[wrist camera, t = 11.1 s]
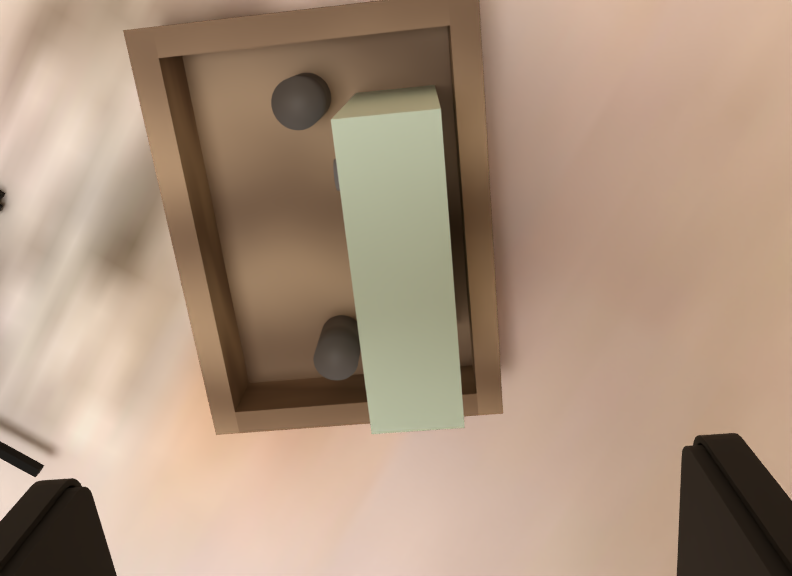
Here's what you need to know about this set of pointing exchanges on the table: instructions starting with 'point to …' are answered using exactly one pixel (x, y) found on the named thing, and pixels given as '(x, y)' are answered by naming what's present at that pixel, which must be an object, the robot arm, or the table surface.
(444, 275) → the light green rectangular block
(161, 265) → the table surface
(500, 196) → the table surface
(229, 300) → the brown wooden shallow tray
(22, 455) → the toy
